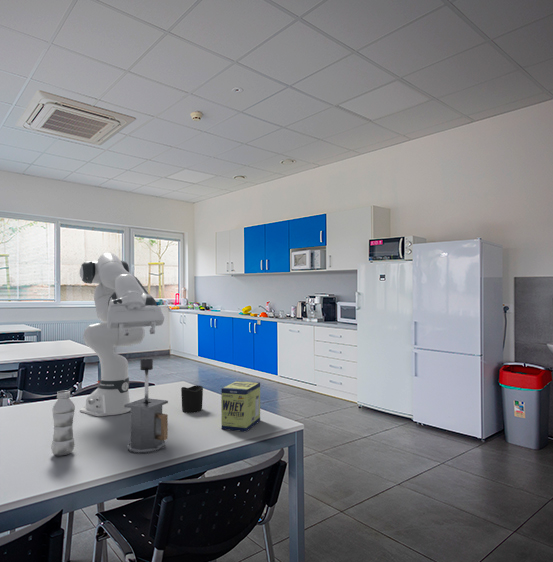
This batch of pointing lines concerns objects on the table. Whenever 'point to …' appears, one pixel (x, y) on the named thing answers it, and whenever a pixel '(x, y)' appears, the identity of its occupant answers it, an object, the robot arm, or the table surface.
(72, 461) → the table surface
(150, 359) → the plunger
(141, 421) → the press carafe
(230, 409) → the protein box
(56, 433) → the plastic bottle
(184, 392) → the pen holder
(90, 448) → the table surface
